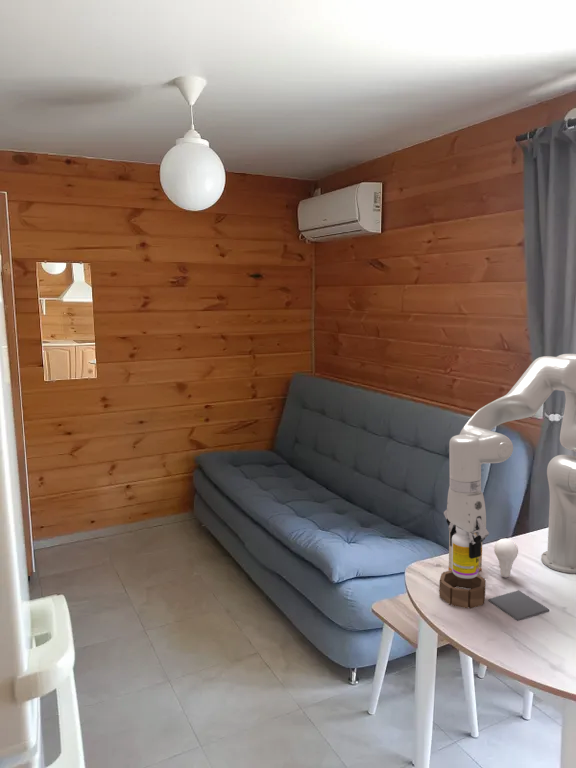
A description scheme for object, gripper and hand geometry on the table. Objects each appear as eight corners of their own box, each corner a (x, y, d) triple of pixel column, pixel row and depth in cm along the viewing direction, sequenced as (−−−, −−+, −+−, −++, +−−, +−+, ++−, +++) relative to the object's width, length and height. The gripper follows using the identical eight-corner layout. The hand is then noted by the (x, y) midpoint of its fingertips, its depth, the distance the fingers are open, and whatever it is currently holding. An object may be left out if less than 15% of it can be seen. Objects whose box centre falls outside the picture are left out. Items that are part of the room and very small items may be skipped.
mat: (518, 592, 150) (518, 590, 150) (549, 611, 141) (549, 609, 141) (488, 600, 147) (488, 598, 146) (517, 620, 137) (517, 618, 137)
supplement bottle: (480, 580, 144) (480, 532, 142) (452, 579, 146) (452, 531, 144) (477, 567, 151) (477, 521, 149) (450, 566, 152) (450, 520, 150)
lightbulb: (517, 574, 159) (519, 536, 158) (516, 584, 154) (517, 545, 152) (494, 570, 162) (495, 533, 160) (492, 580, 157) (493, 542, 155)
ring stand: (465, 582, 156) (465, 566, 155) (494, 601, 146) (494, 585, 145) (431, 591, 152) (431, 575, 151) (458, 611, 142) (459, 594, 141)
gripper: (501, 492, 138) (501, 562, 141) (454, 472, 154) (455, 535, 157) (476, 498, 135) (476, 569, 138) (431, 477, 151) (432, 541, 154)
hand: (465, 550), depth 147 cm, fingers closed on supplement bottle, 6 cm apart
